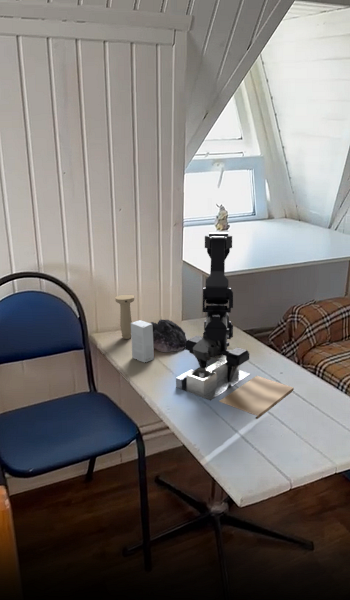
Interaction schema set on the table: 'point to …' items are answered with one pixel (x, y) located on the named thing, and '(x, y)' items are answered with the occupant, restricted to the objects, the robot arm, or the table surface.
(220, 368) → the white open-top bracket
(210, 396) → the plate
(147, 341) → the skincare box
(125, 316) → the handle
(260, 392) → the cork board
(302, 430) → the table surface
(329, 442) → the table surface
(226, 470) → the table surface
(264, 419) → the table surface
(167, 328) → the crystal cluster
